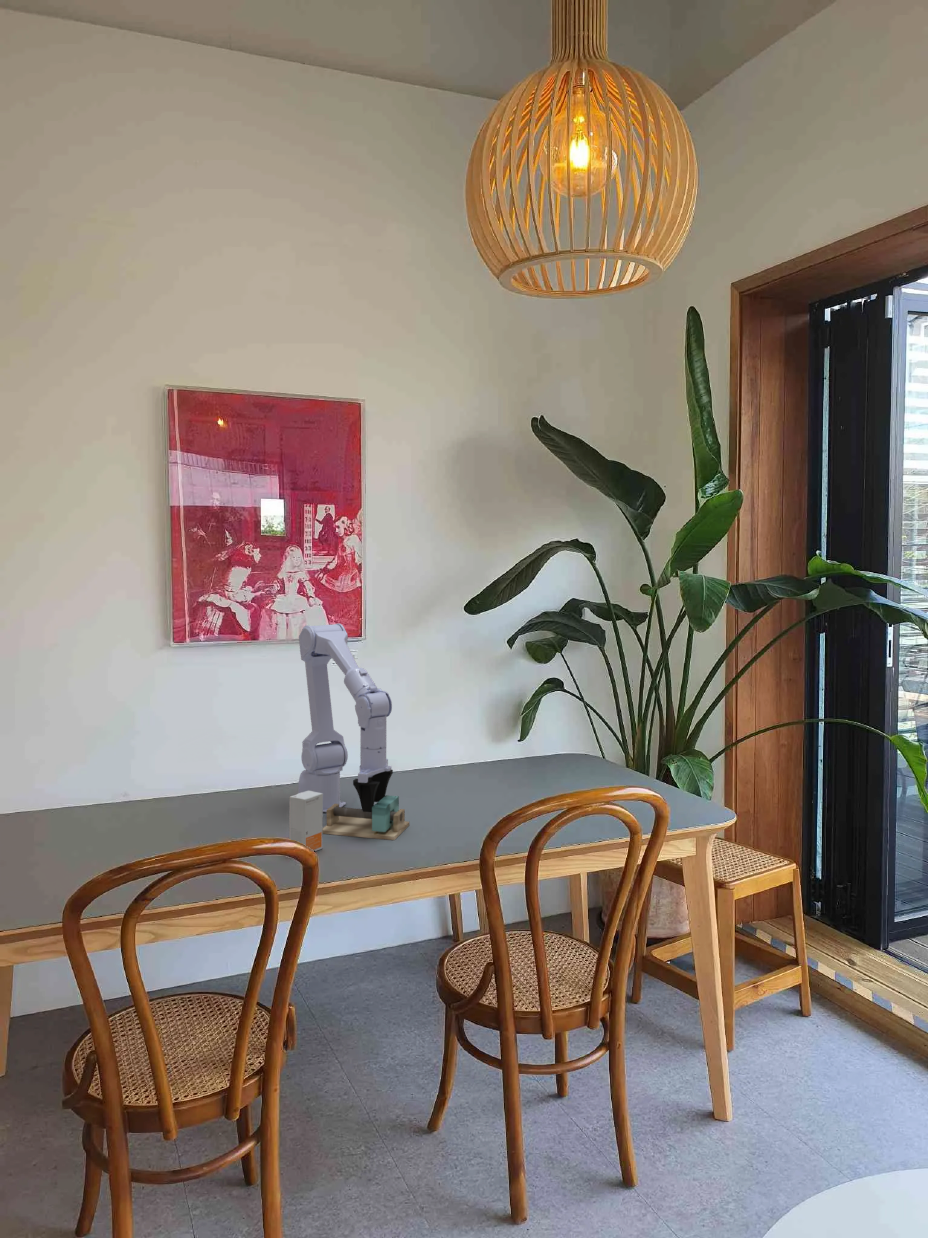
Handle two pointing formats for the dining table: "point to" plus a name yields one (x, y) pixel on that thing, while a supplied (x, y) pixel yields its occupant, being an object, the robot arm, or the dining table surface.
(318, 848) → the skincare box
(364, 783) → the robot arm
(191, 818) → the dining table surface
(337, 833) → the pipe jig
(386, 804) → the collar
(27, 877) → the dining table surface
